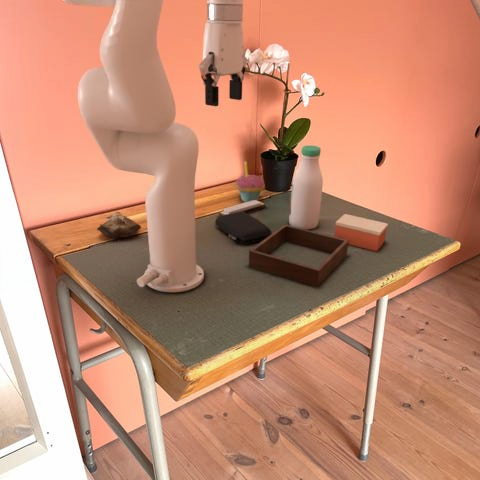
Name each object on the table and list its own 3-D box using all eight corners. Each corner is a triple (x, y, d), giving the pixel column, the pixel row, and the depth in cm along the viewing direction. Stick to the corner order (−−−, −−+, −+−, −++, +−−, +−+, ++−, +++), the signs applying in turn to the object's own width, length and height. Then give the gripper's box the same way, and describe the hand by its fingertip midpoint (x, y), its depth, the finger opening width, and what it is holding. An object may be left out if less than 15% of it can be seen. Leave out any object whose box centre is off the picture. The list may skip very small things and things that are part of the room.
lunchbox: (376, 251, 119) (380, 232, 116) (333, 240, 124) (335, 221, 121) (384, 242, 124) (388, 223, 121) (342, 232, 128) (344, 213, 125)
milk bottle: (323, 226, 131) (334, 149, 120) (301, 232, 127) (309, 153, 116) (304, 216, 136) (312, 141, 125) (282, 222, 132) (288, 145, 121)
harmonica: (225, 220, 133) (225, 213, 131) (218, 216, 134) (218, 209, 133) (265, 208, 141) (266, 201, 139) (258, 205, 142) (258, 198, 141)
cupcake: (245, 206, 141) (246, 164, 134) (229, 197, 147) (230, 156, 140) (269, 201, 145) (272, 160, 138) (253, 192, 151) (255, 152, 144)
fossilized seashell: (92, 233, 118) (133, 242, 118) (97, 205, 118) (139, 214, 118) (100, 236, 125) (139, 245, 126) (105, 210, 125) (144, 219, 125)
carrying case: (208, 226, 129) (238, 248, 119) (208, 215, 127) (238, 236, 117) (243, 219, 134) (274, 239, 123) (243, 208, 132) (275, 228, 122)
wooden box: (317, 287, 104) (319, 270, 102) (248, 266, 111) (249, 250, 109) (346, 255, 117) (349, 240, 115) (283, 239, 124) (284, 224, 121)
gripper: (232, 13, 112) (230, 95, 121) (185, 14, 100) (188, 105, 109) (260, 14, 109) (257, 99, 118) (216, 16, 96) (216, 110, 106)
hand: (224, 102), depth 114 cm, fingers open, 9 cm apart
